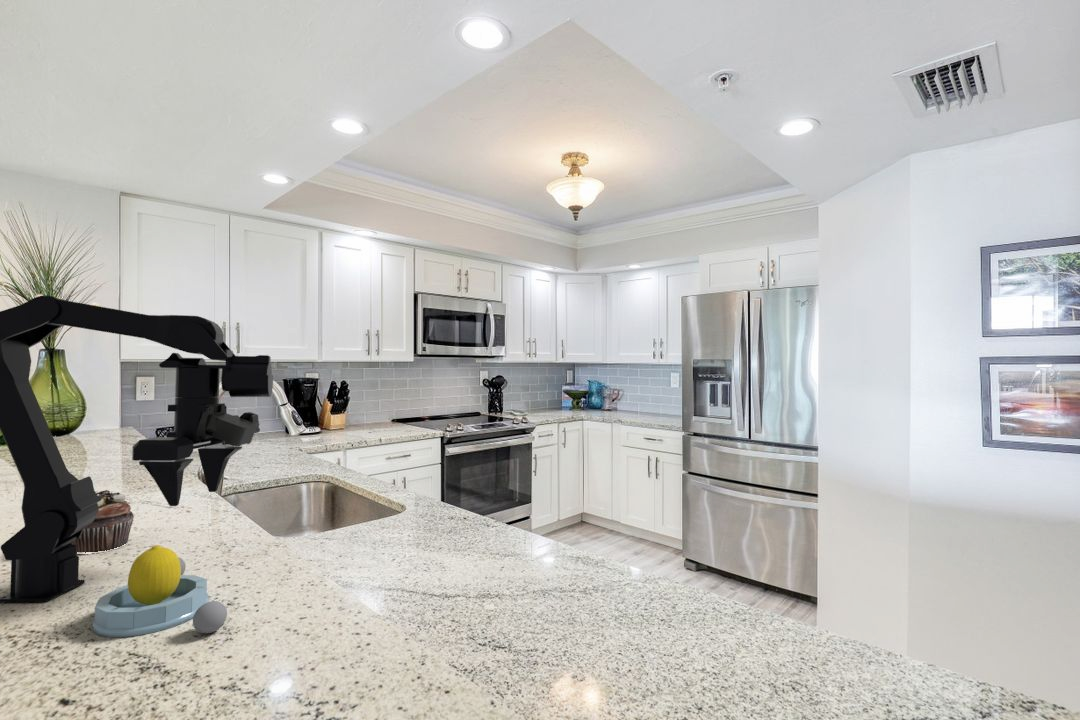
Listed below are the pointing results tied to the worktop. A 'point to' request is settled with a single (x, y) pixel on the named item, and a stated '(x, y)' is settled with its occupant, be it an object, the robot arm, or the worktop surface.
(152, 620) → the dish
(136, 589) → the lemon
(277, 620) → the worktop surface
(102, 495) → the cupcake
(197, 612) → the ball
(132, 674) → the worktop surface
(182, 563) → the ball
